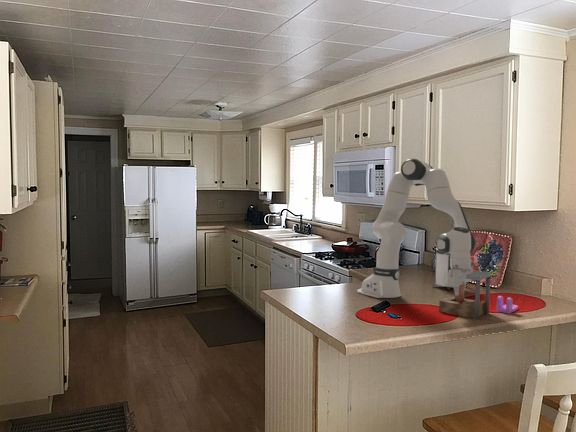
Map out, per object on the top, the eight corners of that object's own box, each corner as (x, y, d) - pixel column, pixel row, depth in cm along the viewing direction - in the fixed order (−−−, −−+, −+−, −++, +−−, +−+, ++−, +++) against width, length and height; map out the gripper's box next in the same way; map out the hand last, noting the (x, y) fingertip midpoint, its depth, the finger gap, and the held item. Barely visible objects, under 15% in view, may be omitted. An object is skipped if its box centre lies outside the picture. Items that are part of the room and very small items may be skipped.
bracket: (508, 313, 226) (509, 298, 226) (496, 311, 230) (497, 296, 229) (519, 308, 235) (520, 294, 235) (507, 306, 239) (508, 292, 239)
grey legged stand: (464, 317, 219) (465, 275, 218) (476, 310, 230) (478, 270, 228) (478, 319, 215) (479, 277, 214) (489, 313, 226) (491, 272, 224)
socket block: (439, 311, 228) (439, 300, 227) (450, 306, 237) (450, 296, 236) (474, 318, 217) (474, 307, 217) (484, 313, 226) (484, 302, 226)
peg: (461, 302, 226) (462, 282, 225) (453, 301, 228) (453, 281, 227) (465, 300, 229) (465, 280, 228) (456, 298, 231) (456, 279, 230)
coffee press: (464, 291, 269) (466, 235, 267) (433, 289, 272) (435, 234, 270) (460, 284, 286) (462, 232, 284) (431, 283, 289) (432, 231, 287)
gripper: (458, 267, 217) (457, 299, 218) (475, 261, 233) (474, 291, 234) (444, 266, 221) (443, 297, 222) (461, 260, 237) (461, 289, 238)
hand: (459, 294), depth 228 cm, fingers closed on peg, 4 cm apart
